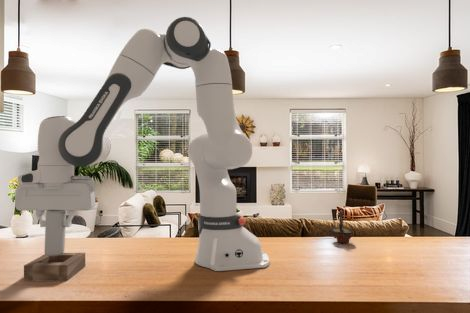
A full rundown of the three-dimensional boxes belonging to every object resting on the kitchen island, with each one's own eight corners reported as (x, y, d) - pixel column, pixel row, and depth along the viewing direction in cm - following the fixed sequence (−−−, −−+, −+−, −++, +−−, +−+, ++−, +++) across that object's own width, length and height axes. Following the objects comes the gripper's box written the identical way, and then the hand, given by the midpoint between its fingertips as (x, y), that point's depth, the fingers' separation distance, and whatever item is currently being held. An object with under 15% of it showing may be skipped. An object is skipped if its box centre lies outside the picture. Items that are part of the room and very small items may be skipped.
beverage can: (56, 257, 88) (58, 211, 88) (40, 255, 89) (42, 210, 89) (68, 252, 93) (69, 209, 93) (51, 250, 94) (53, 208, 94)
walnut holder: (85, 266, 97) (85, 252, 97) (67, 280, 86) (67, 265, 86) (46, 266, 96) (46, 253, 96) (23, 281, 85) (23, 265, 85)
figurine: (356, 246, 118) (356, 212, 118) (333, 245, 118) (333, 212, 118) (349, 239, 127) (348, 208, 127) (327, 239, 128) (327, 207, 128)
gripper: (99, 175, 94) (98, 224, 94) (25, 175, 94) (25, 224, 94) (90, 176, 88) (90, 228, 88) (11, 176, 87) (10, 229, 87)
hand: (56, 226), depth 91 cm, fingers closed on beverage can, 5 cm apart
